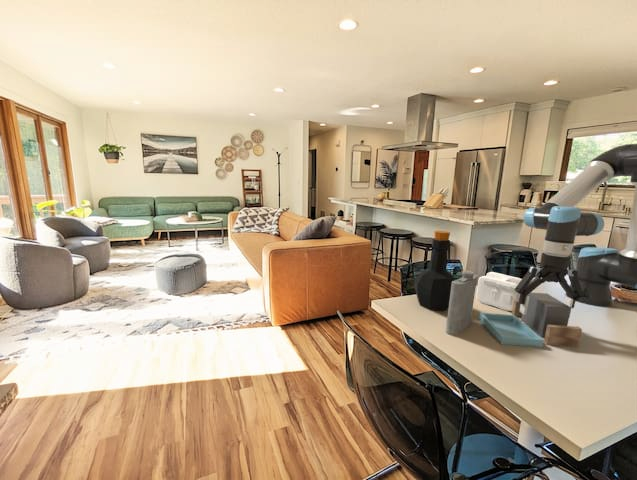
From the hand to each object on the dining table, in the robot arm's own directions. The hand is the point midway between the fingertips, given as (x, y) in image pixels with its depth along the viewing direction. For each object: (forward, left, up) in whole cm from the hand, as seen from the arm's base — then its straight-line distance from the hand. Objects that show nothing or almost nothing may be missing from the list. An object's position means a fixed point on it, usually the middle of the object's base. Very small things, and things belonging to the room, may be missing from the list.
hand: (543, 314), depth 102 cm
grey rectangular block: (0, 0, -6) cm, 6 cm away
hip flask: (+28, +3, -6) cm, 28 cm away
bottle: (+32, -15, -6) cm, 36 cm away
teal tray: (+13, +4, -5) cm, 14 cm away
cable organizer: (+5, -20, -6) cm, 21 cm away
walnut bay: (0, 0, -5) cm, 5 cm away
